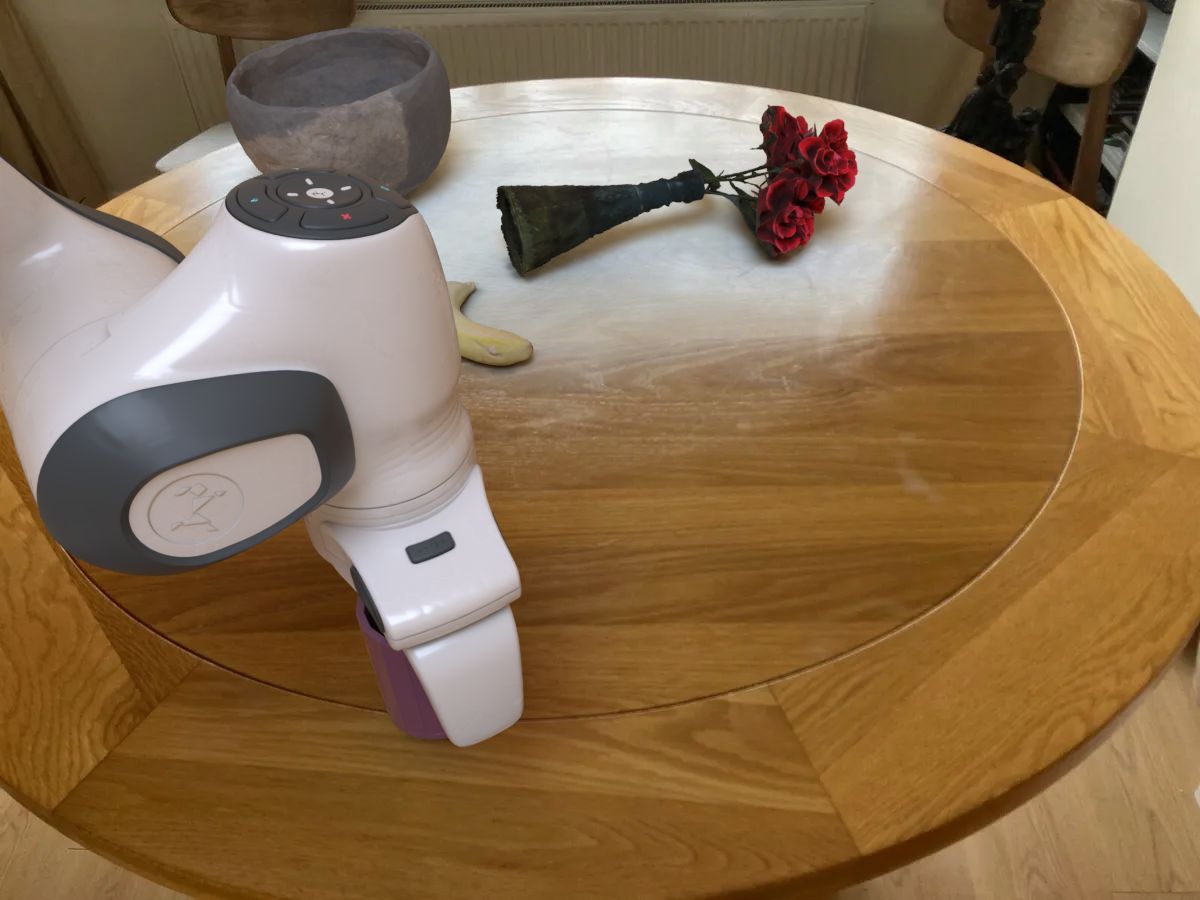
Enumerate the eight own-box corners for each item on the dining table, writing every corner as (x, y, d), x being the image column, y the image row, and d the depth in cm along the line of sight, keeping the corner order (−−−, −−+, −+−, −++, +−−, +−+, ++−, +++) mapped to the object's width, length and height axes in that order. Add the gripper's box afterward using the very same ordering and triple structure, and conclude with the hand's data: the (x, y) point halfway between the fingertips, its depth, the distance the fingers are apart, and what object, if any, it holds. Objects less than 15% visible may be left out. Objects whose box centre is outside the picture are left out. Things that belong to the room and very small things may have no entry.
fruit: (464, 390, 85) (459, 360, 83) (406, 308, 95) (400, 279, 93) (537, 365, 87) (534, 335, 85) (473, 287, 97) (469, 259, 95)
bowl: (289, 264, 102) (249, 128, 92) (235, 176, 118) (195, 52, 108) (498, 202, 111) (481, 71, 100) (420, 128, 127) (400, 8, 116)
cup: (408, 758, 56) (380, 667, 50) (370, 675, 60) (340, 581, 54) (512, 708, 58) (497, 615, 52) (468, 631, 63) (450, 537, 57)
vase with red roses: (528, 336, 104) (819, 254, 110) (552, 313, 86) (899, 215, 92) (486, 195, 103) (782, 120, 109) (500, 141, 85) (854, 55, 91)
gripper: (273, 395, 53) (327, 561, 62) (401, 660, 40) (446, 822, 49) (381, 360, 55) (418, 526, 65) (537, 599, 42) (556, 765, 51)
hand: (431, 655), depth 57 cm, fingers closed on cup, 7 cm apart
